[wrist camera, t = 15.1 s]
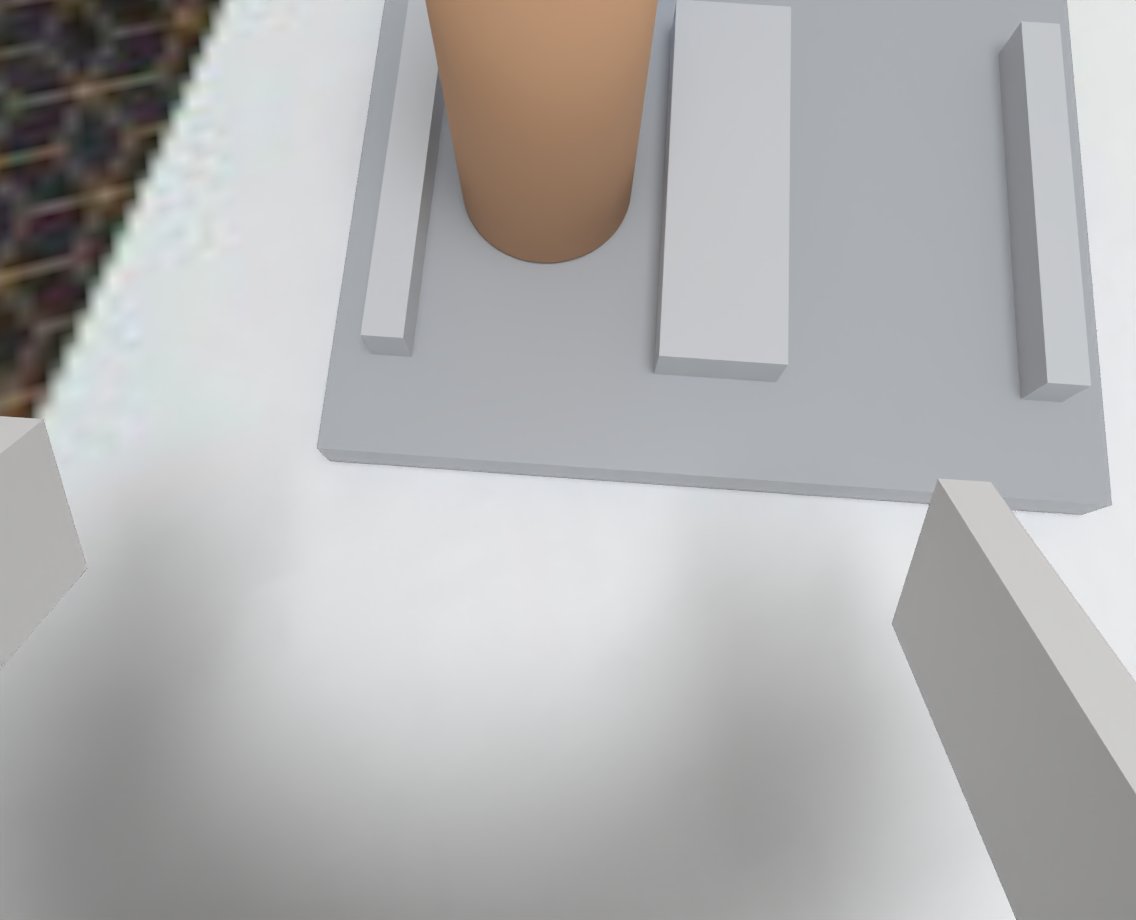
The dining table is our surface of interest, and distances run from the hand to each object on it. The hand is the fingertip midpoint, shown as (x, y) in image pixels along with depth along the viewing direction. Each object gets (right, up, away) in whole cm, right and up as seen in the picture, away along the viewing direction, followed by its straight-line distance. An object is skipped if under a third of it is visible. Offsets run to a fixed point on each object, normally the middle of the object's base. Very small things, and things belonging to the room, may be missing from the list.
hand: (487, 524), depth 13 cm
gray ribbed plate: (+5, +8, +10) cm, 14 cm away
